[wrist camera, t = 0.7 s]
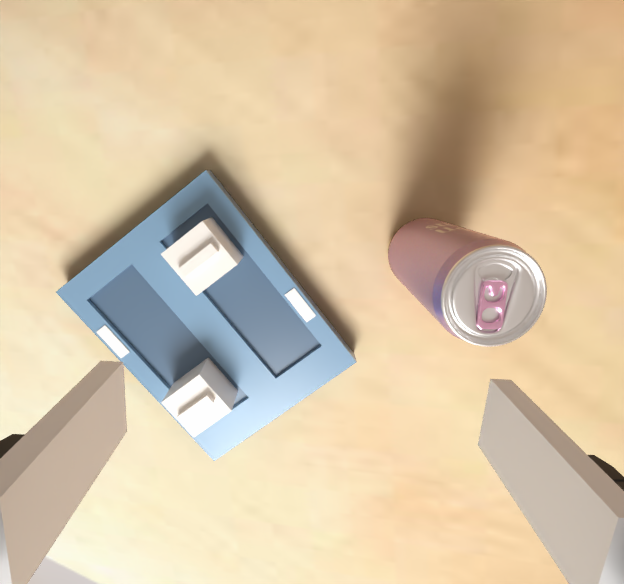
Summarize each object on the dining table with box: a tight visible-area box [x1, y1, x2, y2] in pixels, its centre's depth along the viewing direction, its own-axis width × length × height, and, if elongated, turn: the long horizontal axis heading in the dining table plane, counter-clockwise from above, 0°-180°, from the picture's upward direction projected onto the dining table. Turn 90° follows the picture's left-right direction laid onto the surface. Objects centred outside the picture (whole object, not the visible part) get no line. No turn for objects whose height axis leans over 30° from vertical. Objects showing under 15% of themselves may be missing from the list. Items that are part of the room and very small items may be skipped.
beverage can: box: [388, 218, 547, 347], centre depth 31 cm, size 6×6×15 cm
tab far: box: [161, 357, 238, 437], centre depth 37 cm, size 4×4×4 cm
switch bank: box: [56, 170, 356, 461], centre depth 38 cm, size 20×16×2 cm
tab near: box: [161, 217, 244, 296], centre depth 34 cm, size 4×4×4 cm
